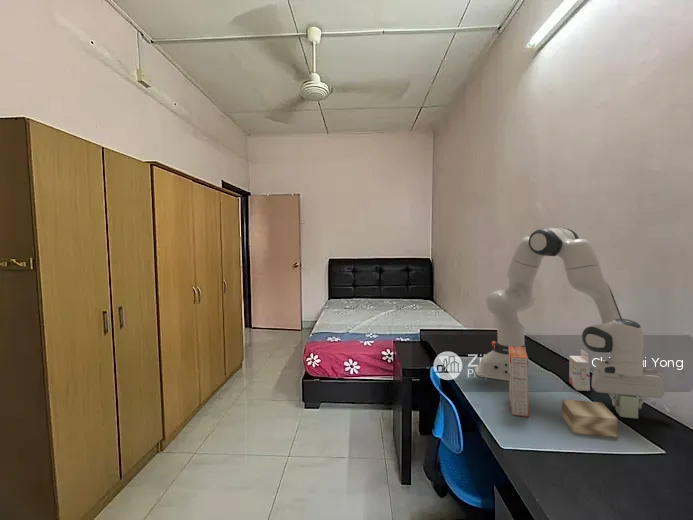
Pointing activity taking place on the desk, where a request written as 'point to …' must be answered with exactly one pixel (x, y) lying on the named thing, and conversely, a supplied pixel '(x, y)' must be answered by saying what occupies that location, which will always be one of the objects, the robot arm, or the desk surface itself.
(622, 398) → the sage block
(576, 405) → the ash plinth
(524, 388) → the cracker box
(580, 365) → the ink cartridge box
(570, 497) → the desk surface
